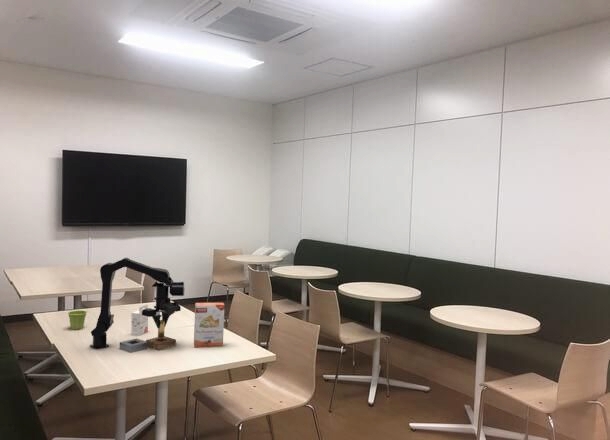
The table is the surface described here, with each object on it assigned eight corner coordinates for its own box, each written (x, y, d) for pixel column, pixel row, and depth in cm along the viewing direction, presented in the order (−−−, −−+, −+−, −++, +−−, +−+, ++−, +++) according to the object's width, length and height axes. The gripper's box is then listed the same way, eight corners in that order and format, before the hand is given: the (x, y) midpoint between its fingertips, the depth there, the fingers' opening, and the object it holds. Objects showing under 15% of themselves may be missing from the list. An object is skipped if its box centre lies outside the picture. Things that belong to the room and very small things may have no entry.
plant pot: (90, 326, 257) (90, 311, 257) (80, 331, 248) (80, 315, 247) (74, 325, 258) (74, 310, 258) (63, 330, 249) (63, 314, 248)
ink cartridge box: (139, 330, 253) (140, 303, 253) (148, 331, 252) (148, 304, 252) (130, 334, 245) (131, 306, 244) (139, 335, 244) (140, 307, 243)
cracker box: (194, 348, 227) (195, 305, 226) (193, 344, 233) (194, 302, 232) (223, 346, 231) (224, 304, 230) (222, 343, 237) (223, 301, 236)
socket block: (119, 348, 222) (119, 342, 222) (136, 344, 229) (136, 338, 229) (130, 352, 217) (131, 346, 217) (147, 348, 224) (147, 342, 224)
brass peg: (156, 336, 228) (157, 320, 227) (161, 335, 230) (162, 319, 230) (160, 338, 226) (160, 321, 226) (165, 336, 228) (166, 320, 228)
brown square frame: (145, 346, 227) (146, 339, 227) (163, 341, 235) (163, 335, 235) (158, 350, 221) (158, 344, 221) (175, 345, 229) (176, 339, 229)
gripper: (156, 301, 215) (155, 334, 216) (188, 295, 230) (187, 327, 231) (141, 297, 222) (140, 330, 222) (173, 292, 237) (172, 323, 237)
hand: (161, 327), depth 228 cm, fingers closed on brass peg, 3 cm apart
